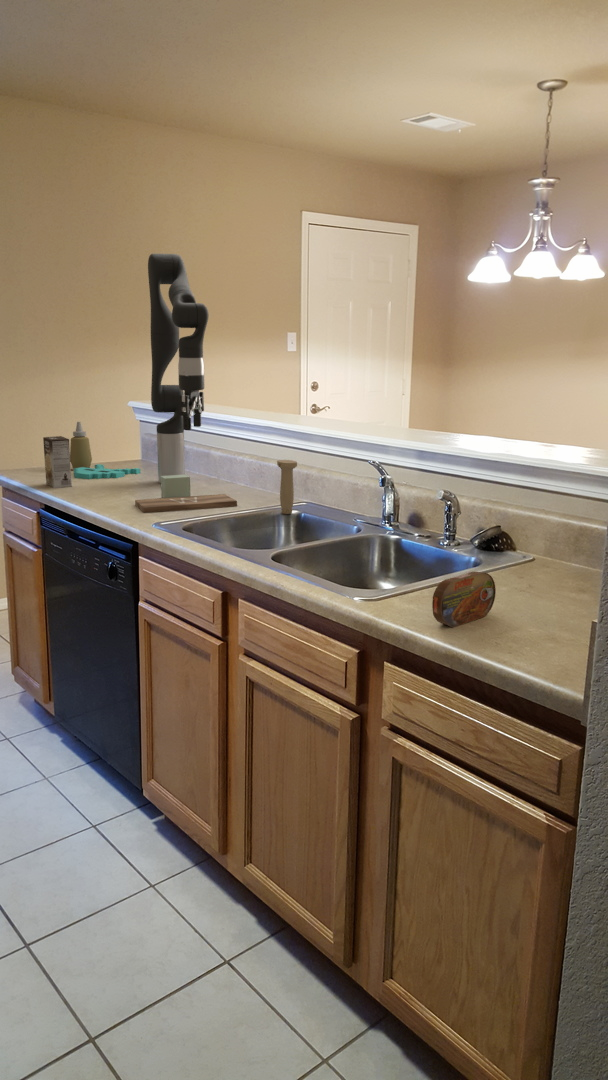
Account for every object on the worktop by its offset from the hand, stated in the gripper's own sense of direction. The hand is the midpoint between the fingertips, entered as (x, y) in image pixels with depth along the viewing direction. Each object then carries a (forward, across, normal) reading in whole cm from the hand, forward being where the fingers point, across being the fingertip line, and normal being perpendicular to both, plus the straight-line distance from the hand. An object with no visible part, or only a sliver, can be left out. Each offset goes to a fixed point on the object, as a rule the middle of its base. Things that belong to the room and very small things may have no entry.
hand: (192, 428), depth 241 cm
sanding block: (+23, -3, -7) cm, 24 cm away
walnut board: (+22, +7, 0) cm, 23 cm away
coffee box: (+23, -14, -53) cm, 60 cm away
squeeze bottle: (+24, -47, -62) cm, 81 cm away
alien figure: (+24, -38, -50) cm, 67 cm away
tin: (+20, +90, +84) cm, 125 cm away
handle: (+22, +10, +32) cm, 40 cm away
